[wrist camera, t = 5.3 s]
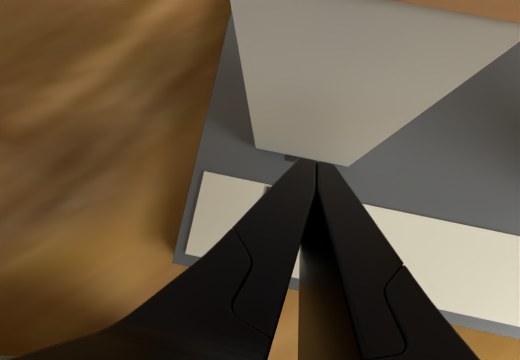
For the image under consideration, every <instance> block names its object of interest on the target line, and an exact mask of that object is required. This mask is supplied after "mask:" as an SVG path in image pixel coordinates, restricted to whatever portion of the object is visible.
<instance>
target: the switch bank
mask: <svg viewBox="0 0 520 360" xmlns="http://www.w3.org/2000/svg"><path fill="white" fill-rule="evenodd" d="M298 158H300V157H297V156H292V155H287V154H282V153H277V152H272V151H267V150H262V149H258V148H256V147H255V141H254V135H253V129H252V124H251V118H250V112H249V106H248V101H247V95H246V89H245V83H244V78H243V72H242V66H241V60H240V55H239V49H238V43H237V37H236V32H235V26H234V20H233V15H232V9H231V14H230V18H229V22H228V26H227V31H226V35H225V39H224V43H223V48H222V52H221V56H220V60H219V65H218V69H217V73H216V77H215V82H214V86H213V90H212V94H211V99H210V103H209V107H208V112H207V116H206V120H205V124H204V129H203V133H202V137H201V141H200V146H199V150H198V154H197V158H196V163H195V167H194V171H193V175H192V180H191V184H190V188H189V192H188V197H187V201H186V205H185V209H184V214H183V218H182V222H181V226H180V231H179V235H178V239H177V244H176V248H175V252H174V256H173V261H172V263H176V264H180V265H185V266H189V267H190V266H191V265H192V264H194V263H195V262H196V261H197V260H198V259H200V258H201V257H202V256H203V255H204V254H206V253H207V252H208V251H209V250H210V249H211V248H212V247H213V246H214V245H215V244H216V243H217V242H218V241H219V240H220V239H221V238H222V237H223V236H224V235H225V234H226V233H227V232H228V231H229V230H230V229H232V227H233V226H234V225H235V224H236V223H237V222H238V221H239V220H240V219H241V218H242V216H243V215H244V214H245V213H246V212H247V211H248V210H249V209H250V208H251V207H252V206H253V205H254V204H255V203H256V202H257V201H258V200H259V199H260V198H261V197H262V196H263V195H264V194H265V192H266V191H267V190H268V189H269V188H270V187H271V186H272V185H273V184H274V183H275V182H276V181H277V180H278V179H279V178H280V177H281V176H282V175H283V174H284V173H285V172H286V171H287V170H288V168H289V167H290V166H291V165H292V164H293V163H294V162H295V161H296V160H297V159H298ZM315 161H316V163H317V160H315ZM334 165H335V166H336V167H337V169H338V170H339V172H340V173H341V174H342V176H343V177H344V179H345V180H346V182H347V183H348V184H349V186H350V187H351V189H352V190H353V191H354V193H355V194H356V196H357V197H358V199H359V200H360V201H361V203H362V204H363V206H364V207H365V209H366V210H367V211H368V213H369V214H370V216H371V217H372V219H373V220H374V221H375V223H376V224H377V226H378V227H379V229H380V230H381V231H382V233H383V234H384V236H385V237H386V238H387V240H388V241H389V243H390V244H391V246H392V247H393V248H394V250H395V251H396V253H397V254H398V256H399V257H400V258H401V260H402V261H403V263H404V264H403V265H405V266H406V267H407V268H408V270H409V271H410V272H411V274H412V275H413V277H414V278H415V280H416V281H417V282H418V284H419V285H420V286H421V288H422V289H423V290H424V292H425V293H426V294H427V296H428V297H429V298H430V300H431V301H432V302H433V304H434V305H435V306H436V307H437V309H438V310H439V311H440V312H441V313H442V315H443V316H444V317H445V318H446V320H447V321H448V322H449V323H450V324H453V325H457V326H462V327H466V328H471V329H475V330H480V331H484V332H489V333H493V334H498V335H503V336H507V337H512V338H516V339H520V42H518V43H517V44H516V45H514V46H513V47H512V48H510V49H509V50H507V51H506V52H505V53H503V54H502V55H501V56H499V57H498V58H496V59H495V60H494V61H492V62H491V63H490V64H488V65H487V66H485V67H484V68H483V69H481V70H480V71H479V72H477V73H476V74H475V75H473V76H472V77H470V78H469V79H468V80H466V81H465V82H464V83H462V84H461V85H459V86H458V87H457V88H455V89H454V90H453V91H451V92H450V93H448V94H447V95H446V96H444V97H443V98H442V99H440V100H439V101H437V102H436V103H435V104H433V105H432V106H431V107H429V108H428V109H427V110H425V111H424V112H422V113H421V114H420V115H418V116H417V117H416V118H414V119H413V120H411V121H410V122H409V123H407V124H406V125H405V126H403V127H402V128H400V129H399V130H398V131H396V132H395V133H394V134H392V135H391V136H389V137H388V138H387V139H385V140H384V141H383V142H381V143H380V144H379V145H377V146H376V147H374V148H373V149H372V150H370V151H369V152H368V153H366V154H365V155H363V156H362V157H361V158H359V159H358V160H357V161H355V162H354V163H352V164H351V165H350V166H348V167H347V166H342V165H337V164H334ZM299 255H300V249H299V252H298V256H297V259H296V263H295V266H294V270H293V273H292V276H291V280H290V283H289V287H288V288H289V289H294V290H298V291H299Z"/></svg>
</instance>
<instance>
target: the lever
mask: <svg viewBox="0 0 520 360" xmlns="http://www.w3.org/2000/svg"><path fill="white" fill-rule="evenodd" d="M230 3H231V9H232V15H233V20H234V26H235V32H236V37H237V43H238V49H239V55H240V60H241V66H242V72H243V78H244V83H245V89H246V95H247V101H248V106H249V112H250V118H251V124H252V129H253V135H254V141H255V147H256V148H258V149H262V150H267V151H272V152H277V153H282V154H287V155H292V156H297V157H303V158H308V159H313V160H317V161H323V162H328V163H333V164H337V165H342V166H347V167H348V166H350V165H351V164H352V163H354V162H355V161H357V160H358V159H359V158H361V157H362V156H363V155H365V154H366V153H368V152H369V151H370V150H372V149H373V148H374V147H376V146H377V145H379V144H380V143H381V142H383V141H384V140H385V139H387V138H388V137H389V136H391V135H392V134H394V133H395V132H396V131H398V130H399V129H400V128H402V127H403V126H405V125H406V124H407V123H409V122H410V121H411V120H413V119H414V118H416V117H417V116H418V115H420V114H421V113H422V112H424V111H425V110H427V109H428V108H429V107H431V106H432V105H433V104H435V103H436V102H437V101H439V100H440V99H442V98H443V97H444V96H446V95H447V94H448V93H450V92H451V91H453V90H454V89H455V88H457V87H458V86H459V85H461V84H462V83H464V82H465V81H466V80H468V79H469V78H470V77H472V76H473V75H475V74H476V73H477V72H479V71H480V70H481V69H483V68H484V67H485V66H487V65H488V64H490V63H491V62H492V61H494V60H495V59H496V58H498V57H499V56H501V55H502V54H503V53H505V52H506V51H507V50H509V49H510V48H512V47H513V46H514V45H516V44H517V43H518V42H520V0H230Z"/></svg>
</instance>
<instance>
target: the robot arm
mask: <svg viewBox="0 0 520 360" xmlns="http://www.w3.org/2000/svg"><path fill="white" fill-rule="evenodd" d="M299 249H300V255H299V322H298V360H480V359H479V358H478V356H477V355H476V354H475V353H474V352H473V351H472V349H471V348H470V347H469V346H468V345H467V344H466V342H465V341H464V340H463V339H462V338H461V336H460V335H459V334H458V333H457V332H456V331H455V329H454V328H453V327H452V326H451V325H450V323H449V322H448V321H447V320H446V318H445V317H444V316H443V315H442V313H441V312H440V311H439V310H438V309H437V307H436V306H435V305H434V304H433V302H432V301H431V300H430V298H429V297H428V296H427V294H426V293H425V292H424V290H423V289H422V288H421V286H420V285H419V284H418V282H417V281H416V280H415V278H414V277H413V275H412V274H411V272H410V271H409V270H408V268H407V267H406V266H405V265H403V264H404V263H403V261H402V260H401V258H400V257H399V256H398V254H397V253H396V251H395V250H394V248H393V247H392V246H391V244H390V243H389V241H388V240H387V238H386V237H385V236H384V234H383V233H382V231H381V230H380V229H379V227H378V226H377V224H376V223H375V221H374V220H373V219H372V217H371V216H370V214H369V213H368V211H367V210H366V209H365V207H364V206H363V204H362V203H361V201H360V200H359V199H358V197H357V196H356V194H355V193H354V191H353V190H352V189H351V187H350V186H349V184H348V183H347V182H346V180H345V179H344V177H343V176H342V174H341V173H340V172H339V170H338V169H337V167H336V166H335V165H334V164H333V163H328V162H323V161H317V163H316V161H315V160H313V159H308V158H303V157H300V158H298V159H297V160H296V161H295V162H294V163H293V164H292V165H291V166H290V167H289V168H288V170H287V171H286V172H285V173H284V174H283V175H282V176H281V177H280V178H279V179H278V180H277V181H276V182H275V183H274V184H273V185H272V186H271V187H270V188H269V189H268V190H267V191H266V192H265V194H264V195H263V196H262V197H261V198H260V199H259V200H258V201H257V202H256V203H255V204H254V205H253V206H252V207H251V208H250V209H249V210H248V211H247V212H246V213H245V214H244V215H243V216H242V218H241V219H240V220H239V221H238V222H237V223H236V224H235V225H234V226H233V227H232V229H230V230H229V231H228V232H227V233H226V234H225V235H224V236H223V237H222V238H221V239H220V240H219V241H218V242H217V243H216V244H215V245H214V246H213V247H212V248H211V249H210V250H209V251H208V252H207V253H206V254H204V255H203V256H202V257H201V258H200V259H198V260H197V261H196V262H195V263H194V264H192V265H191V266H190V267H189V268H188V269H186V270H185V271H184V272H183V273H181V274H180V275H179V276H178V277H176V278H175V279H174V280H172V281H171V282H170V283H169V284H167V285H166V286H165V287H164V288H162V289H161V290H160V291H158V292H157V293H156V294H155V295H153V296H152V297H151V298H150V299H148V300H147V301H146V302H144V303H143V304H142V305H141V306H139V307H138V308H137V309H135V310H134V311H133V312H131V313H130V314H129V315H127V316H126V317H124V318H123V319H121V320H120V321H118V322H116V323H114V324H113V325H111V326H109V327H107V328H105V329H103V330H100V331H98V332H95V333H92V334H89V335H86V336H83V337H79V338H76V339H73V340H69V341H66V342H63V343H60V344H56V345H53V346H50V347H47V348H43V349H40V350H37V351H33V352H30V353H27V354H24V355H20V356H17V357H14V358H11V359H7V360H267V359H268V356H269V352H270V349H271V345H272V342H273V339H274V335H275V332H276V328H277V325H278V321H279V318H280V314H281V311H282V308H283V304H284V301H285V297H286V294H287V290H288V287H289V283H290V280H291V276H292V273H293V270H294V266H295V263H296V259H297V256H298V252H299Z"/></svg>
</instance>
